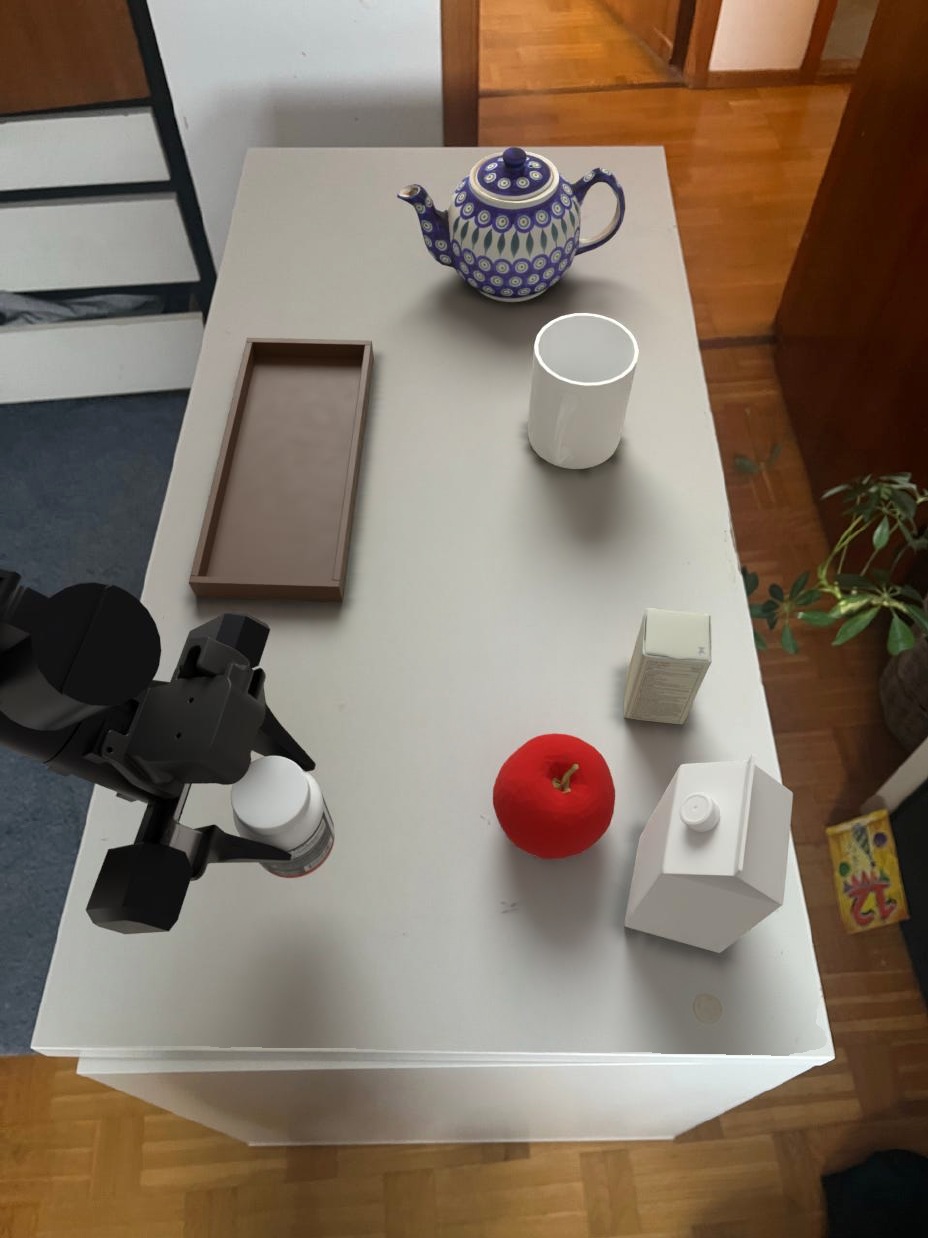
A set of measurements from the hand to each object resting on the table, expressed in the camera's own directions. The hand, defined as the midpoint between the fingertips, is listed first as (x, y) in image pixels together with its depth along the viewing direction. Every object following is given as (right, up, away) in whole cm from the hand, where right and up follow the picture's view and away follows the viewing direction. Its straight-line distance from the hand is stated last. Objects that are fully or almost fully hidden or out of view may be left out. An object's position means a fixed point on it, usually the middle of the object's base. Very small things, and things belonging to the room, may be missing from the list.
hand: (299, 812), depth 56 cm
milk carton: (+27, -8, +10) cm, 30 cm away
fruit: (+17, -3, +14) cm, 22 cm away
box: (+26, +5, +19) cm, 33 cm away
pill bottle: (-1, -3, +6) cm, 7 cm away
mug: (+21, +30, +33) cm, 50 cm away
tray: (-7, +27, +32) cm, 43 cm away
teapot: (+16, +53, +47) cm, 73 cm away
